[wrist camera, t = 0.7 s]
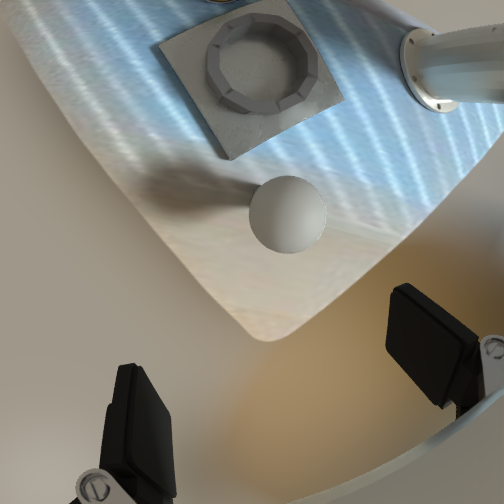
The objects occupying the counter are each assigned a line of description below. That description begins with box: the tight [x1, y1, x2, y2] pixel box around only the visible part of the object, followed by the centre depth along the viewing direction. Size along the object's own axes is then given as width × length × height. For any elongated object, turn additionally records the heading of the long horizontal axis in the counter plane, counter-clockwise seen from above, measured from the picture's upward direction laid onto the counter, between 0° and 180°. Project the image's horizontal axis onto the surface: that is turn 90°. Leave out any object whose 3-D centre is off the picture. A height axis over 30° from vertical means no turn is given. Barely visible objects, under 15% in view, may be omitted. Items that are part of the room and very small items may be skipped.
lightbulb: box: [249, 176, 327, 254], centre depth 25 cm, size 6×6×11 cm
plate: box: [158, 0, 344, 161], centre depth 25 cm, size 14×14×1 cm
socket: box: [205, 13, 318, 115], centre depth 23 cm, size 10×10×3 cm
